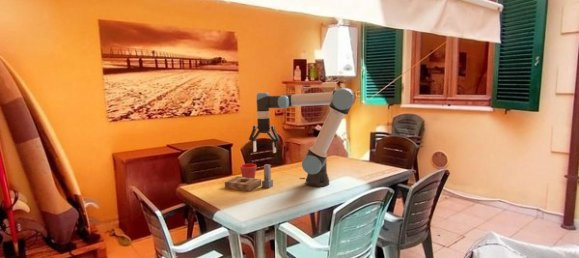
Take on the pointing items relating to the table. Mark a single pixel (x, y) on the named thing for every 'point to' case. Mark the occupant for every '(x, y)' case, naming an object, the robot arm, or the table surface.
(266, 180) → the grey stepped bar
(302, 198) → the table surface
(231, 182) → the well block
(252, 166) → the flower pot
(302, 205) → the table surface
